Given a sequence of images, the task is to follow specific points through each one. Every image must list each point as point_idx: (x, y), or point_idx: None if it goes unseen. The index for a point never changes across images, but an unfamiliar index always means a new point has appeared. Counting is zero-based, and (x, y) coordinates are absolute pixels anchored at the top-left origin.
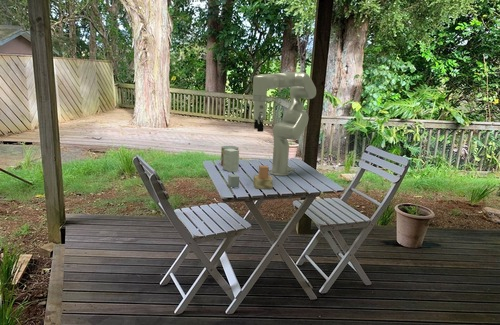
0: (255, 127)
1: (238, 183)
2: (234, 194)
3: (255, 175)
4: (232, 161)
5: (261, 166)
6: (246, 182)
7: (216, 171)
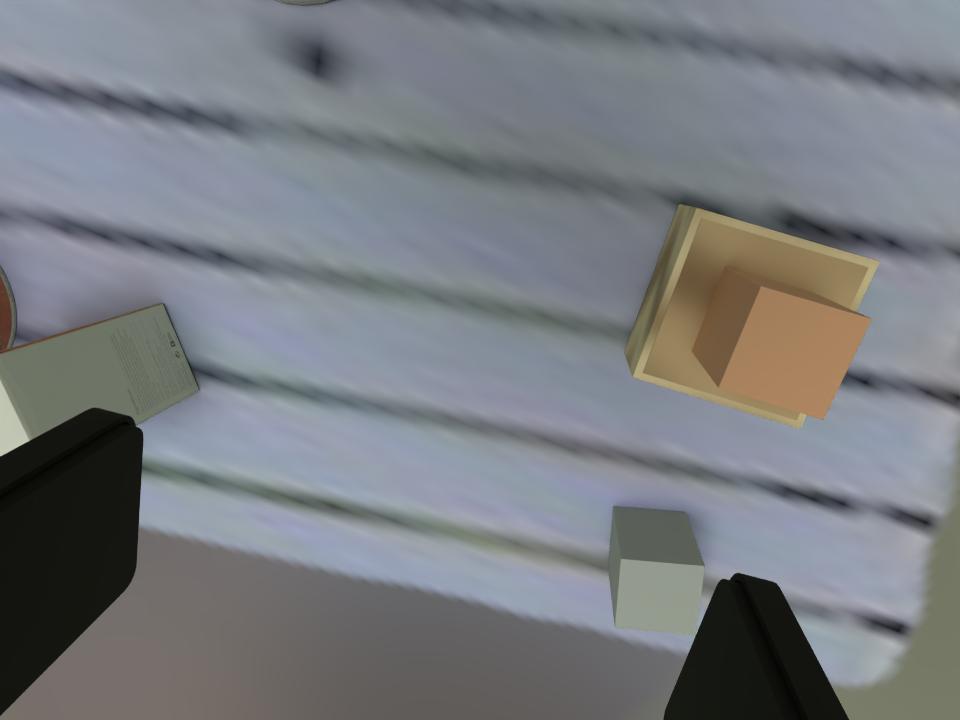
0: (111, 575)
1: (690, 533)
2: (853, 613)
3: (656, 370)
4: (129, 407)
5: (786, 387)
6: (560, 391)
7: (169, 493)
